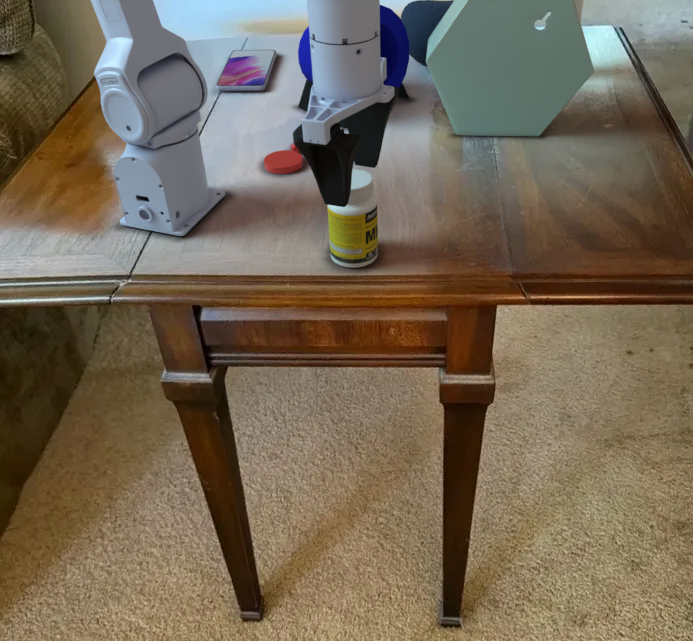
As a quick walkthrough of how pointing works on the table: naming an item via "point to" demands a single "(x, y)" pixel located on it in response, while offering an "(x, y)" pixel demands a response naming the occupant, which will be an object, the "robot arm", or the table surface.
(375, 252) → the supplement bottle
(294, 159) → the red rod and disc
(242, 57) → the smartphone
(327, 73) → the robot arm
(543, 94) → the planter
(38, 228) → the table surface
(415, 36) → the decorative stone
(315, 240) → the table surface
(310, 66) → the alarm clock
